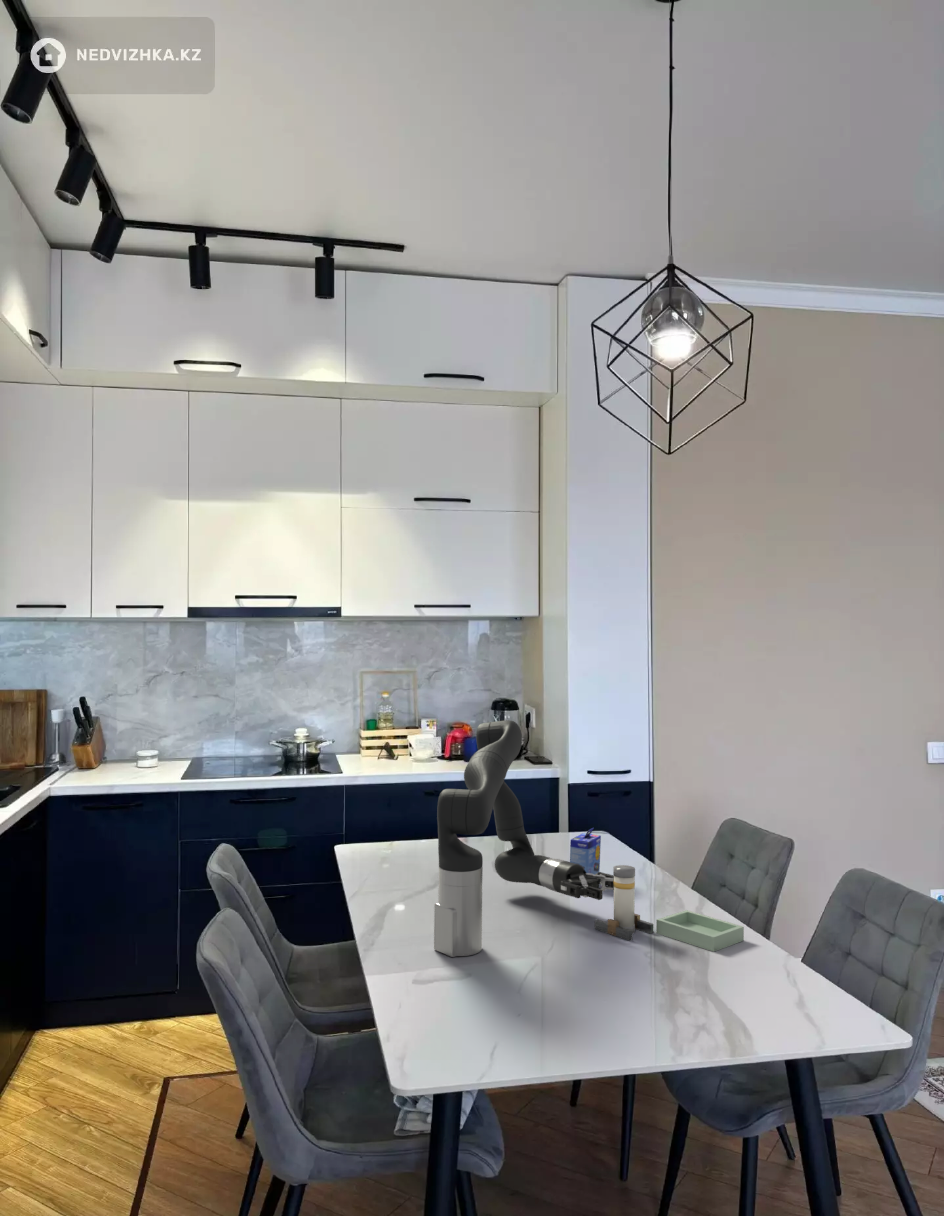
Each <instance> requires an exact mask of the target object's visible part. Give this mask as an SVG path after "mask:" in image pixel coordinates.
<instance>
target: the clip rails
mask: <svg viewBox="0 0 944 1216" xmlns="http://www.w3.org/2000/svg"><path fill="white" fill-rule="evenodd" d="M634 924H635V930H638V931H641V932H644V933H647V934H649V935H651V934H654V923H653V922H649V921H645V920H642V919H641V914H637V913H635V912H634ZM594 929H595V930H597V931H600V932H602V933H606V934H609V935H612V936H615V937H617V938H621V939H623V940H627V941H633V934H632V930H629V929H626V928H623V927H620V926H619V921H616V920H614V918H613V919H612V918H609V919H607V921H604V920H602V919H599V918H598V919H597V918H596V919H594Z"/></svg>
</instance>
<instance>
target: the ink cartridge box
mask: <svg viewBox="0 0 944 1216" xmlns="http://www.w3.org/2000/svg"><path fill="white" fill-rule="evenodd" d="M593 830H594V827H592V828H590V829H588V830H587V832H582V833H580V834H579V835H577V836H575V837H573V838H571V839H570V844H569V845H570V847H569V862H571V863H575V864H579V865H581V866H582V867H583V868H584V870H585V871H586V873H592V874H594V875H597V873H598V872H601V870H600V868H601V866H600V864H601V840H602V835H598V834H594V833H592V832H593Z"/></svg>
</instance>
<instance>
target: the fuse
mask: <svg viewBox="0 0 944 1216" xmlns="http://www.w3.org/2000/svg"><path fill="white" fill-rule="evenodd" d="M612 871H613V874H612V875H614V890H613V920H616V921H619V926H620V927H623V928H626V929H629V930H632V935H633V934H634V933H635V932H636V931H635V930H636V929H635V924H634V913H635V899H636V898H635V897H636V896H635V895H636V893H635V888H636V882H635V881H636V880H635V877H636V867H635V866H631V865H627V864H626V865H625V864H619V865H614V866H613V869H612ZM635 934H636V933H635Z"/></svg>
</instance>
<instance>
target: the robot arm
mask: <svg viewBox="0 0 944 1216" xmlns="http://www.w3.org/2000/svg"><path fill="white" fill-rule="evenodd" d="M475 734H476V735H475V736H476V737H475V739H476V740H475V741H476V745H477V746H476V747H477V751H476V752H474V753H473V755H472V756H471V757H470V758H469V761H468V763H467V764H466V766H465V769H464V773H463V779H464V783H465V786H466V789H461V788H460V789H459V788H445V789H443V790H442V791H441V792H440V793H439V796H438V800H437V806H436V807H437V808H436V809H437V810H436V811H437V812H436V816H437V817H436V820H437V840H438V841H437V843H438V844H437V847H438V851H437V853H438V888H437V889H438V895H437V896H438V898H437V899H438V900H437V901H438V902H436V903H435V904H434V907H433V909H434V910H433V911H434V913H433V915H434V916H433V919H434V920H433V922H434V923H433V924H434V925H433V950H434V951H437V952H439V953H442V954H443V955H446V956H448V957H451V958H454V957H468V956H473V955H476V954H478V953H480V952H481V951H482V946H483V944H482V943H483V941H482V940H483V854H482V853H481V852H480V851H479V850H478V849H476V848H474V847H471V846H470V845H468V844H466V843H464V842H463V841H461V839H460V838H459V837H458V836H457V835H468V836H470V835H472V836H474V835H481V834H484V833H485V831H486V829H487V828H488V826H489V824H490V823H489V822H490V820H491V815H492V812H493V815H494V824H495V831H496V836H497V838H498V839H499V840H500V841H502V842H510V845H511V846H512V848H510V849H508V850H505V851H503V852H501V853H499V854H498V855H497V856H496V857H495V861H494V869H495V872H496V873H497V874H498V876H499V877H500V878H501V879H503V880H504V881H507V882H510V883H521V884H522V883H523V884H533V885H534V884H535V885H537V886H540V887H543V888H546V889H548V890H550V891H553V892H556V893H560V894H561V895H566V896H569V897H571V898H572V897H573V898H576V899H580V898H581V897H582V898H591V899H594V900H598V901H600V900H602V899H603V892H605V891H606V890H608V891H609V890H612V891H614V875H613V874H610V873H605V872H601V871H599V872H598V873H597V875H594V874H592V873H586V871H585V870H584V868H583V867H582V866H581V865H579V864H575V863H571V862H570V861H567V860H564V859H560V858H553V857H549V856H545V855H539V854H536V855H535V852H534V849H533V848H532V844H531V843H530V840H529V837H528V836H527V833H526V830H525V827H524V819H523V812H522V807H521V804H520V801H519V799H518V798H517V796H516V794H515V793H514V792H513V790H512V789H511V788H510V787H509V786H508V784H507V783H506V782H505V779H506V776H507V773H508V771H509V769H510V767H511V764H512V763H513V762H514V760H516V758H517V756H518V755H519V753H520V750H521V748H522V742H523V734H522V730H521V727H520V726H519V724H518V723H517V722H516V721H514V720H509V719H508V720H507V719H506V720H497V721H491V722H484V723H483V722H482V723H480V724H479V725H478V726H477V728H476V733H475ZM600 885H601V886H600Z"/></svg>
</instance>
